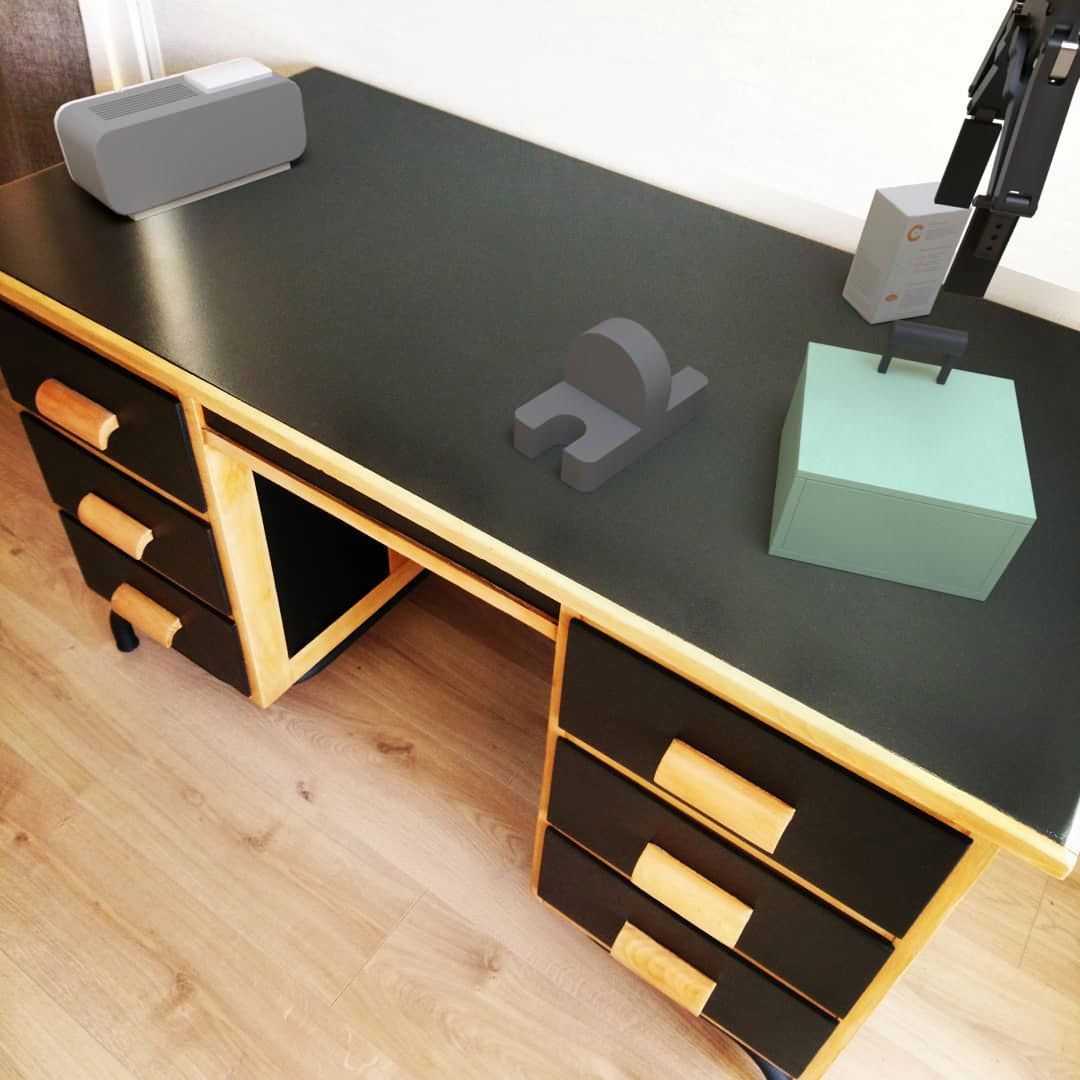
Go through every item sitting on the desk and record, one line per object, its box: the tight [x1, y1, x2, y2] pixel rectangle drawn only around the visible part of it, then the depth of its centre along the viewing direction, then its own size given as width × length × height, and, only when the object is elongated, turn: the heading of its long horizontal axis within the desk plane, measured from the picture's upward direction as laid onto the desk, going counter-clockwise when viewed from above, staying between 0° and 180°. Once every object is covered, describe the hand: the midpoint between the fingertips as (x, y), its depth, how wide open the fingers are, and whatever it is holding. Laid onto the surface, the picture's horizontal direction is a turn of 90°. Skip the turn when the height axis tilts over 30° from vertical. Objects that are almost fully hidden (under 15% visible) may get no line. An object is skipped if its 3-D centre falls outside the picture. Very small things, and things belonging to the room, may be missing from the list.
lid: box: [795, 319, 1038, 526], centre depth 75 cm, size 18×18×6 cm
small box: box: [841, 181, 973, 325], centre depth 102 cm, size 8×6×13 cm
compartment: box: [767, 357, 1033, 602], centre depth 80 cm, size 17×18×9 cm
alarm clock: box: [53, 56, 308, 222], centre depth 113 cm, size 27×9×12 cm, turn 136°
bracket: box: [512, 316, 709, 494], centre depth 86 cm, size 10×18×11 cm, turn 137°
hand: (956, 246), depth 71 cm, fingers open, 13 cm apart
